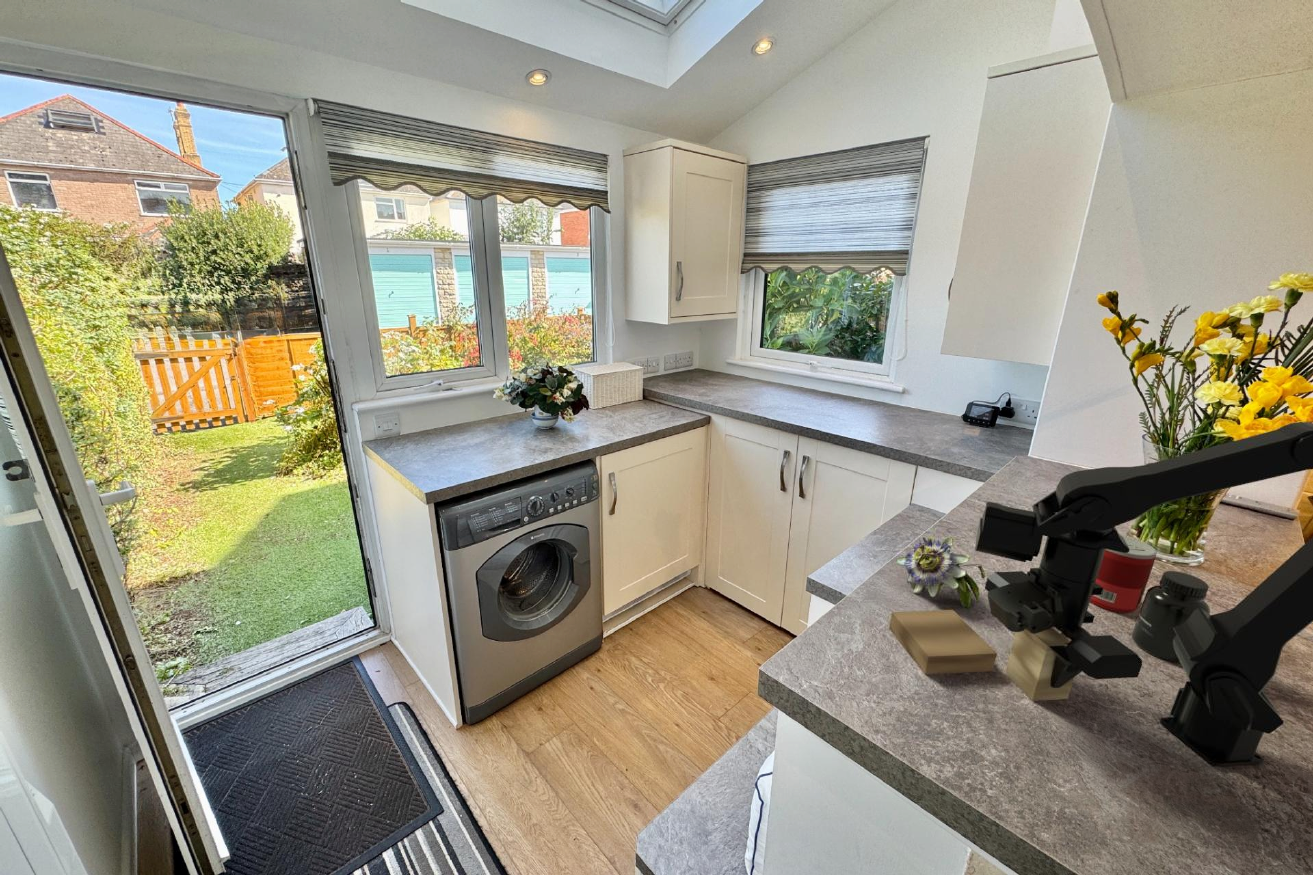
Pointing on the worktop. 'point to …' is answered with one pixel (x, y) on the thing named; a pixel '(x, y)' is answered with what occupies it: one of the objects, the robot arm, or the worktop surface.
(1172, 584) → the supplement bottle
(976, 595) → the passion flower
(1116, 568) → the canned food
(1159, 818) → the worktop surface
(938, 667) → the walnut block
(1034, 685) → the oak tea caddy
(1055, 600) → the robot arm
